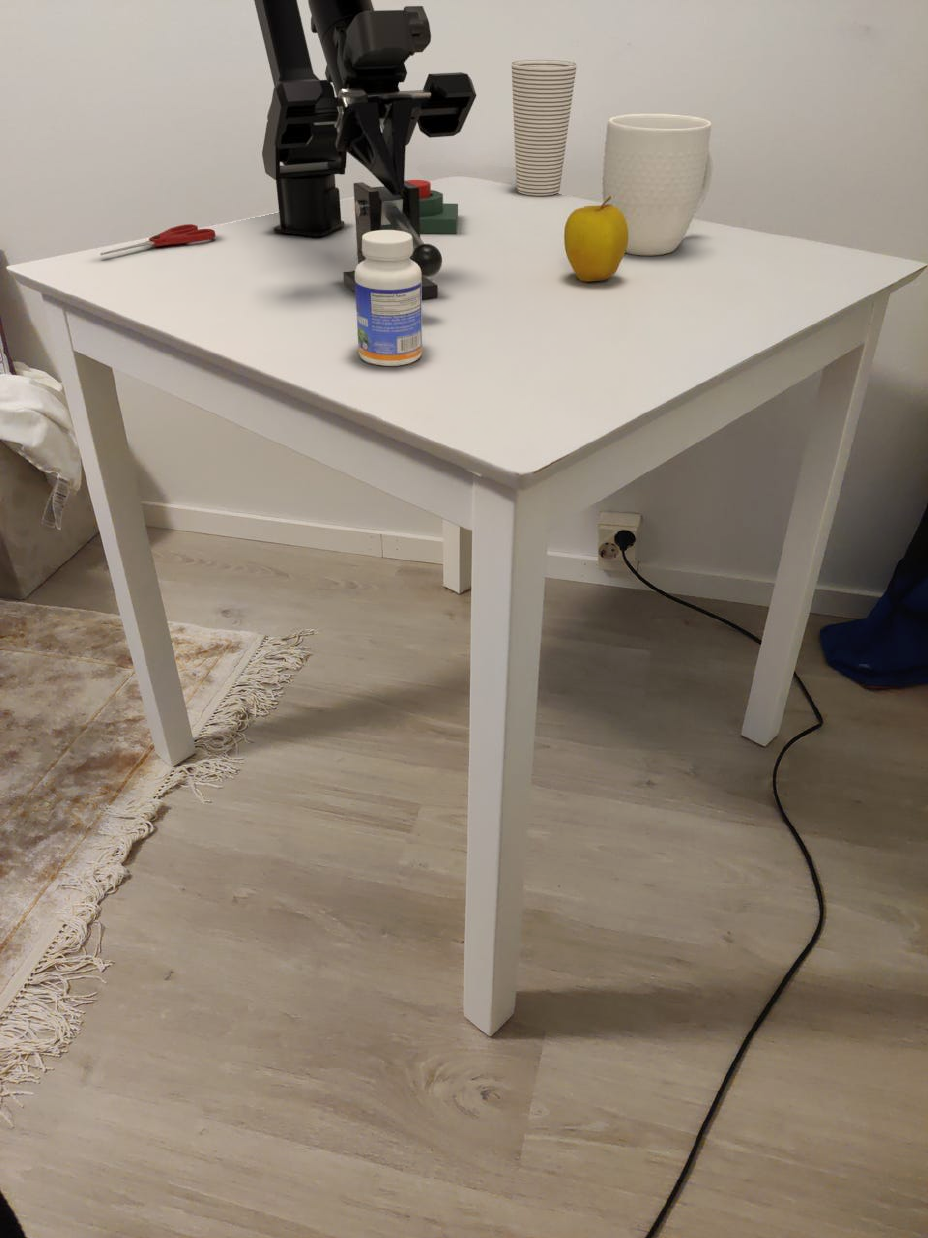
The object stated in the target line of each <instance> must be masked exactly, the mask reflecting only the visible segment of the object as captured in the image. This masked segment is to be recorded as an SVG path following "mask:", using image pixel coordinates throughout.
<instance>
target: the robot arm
mask: <svg viewBox="0 0 928 1238" xmlns="http://www.w3.org/2000/svg"><path fill="white" fill-rule="evenodd" d="M253 2H254V5H255V10H256V14H257V20H258V23H259V26H260V31H261V37H262V39H263V40H262V41H263V44H264V49H265V52H266V57H267V62H268V65H269V70H270V74H271V78H272V83H273V91H272V97H271V102H270V106H269V109H268V112H267V115H266V119H267V122H266V125H265V132H264V133H265V134H264V137H263V145H262V151H261V157H262V163H263V167H264V173H265V174H266V175H267V176H269V177H270V178H271V179H272V180H274V181H275V185H276V187H275V188H276V194H277V195H276V196H277V205H278V206H277V207H278V215H279V224H278V225H276V226H274V227H273V232H274V233H280V234H289V235H299V236H308V237H317V238H321V237H324V236H326V235H328V234H331V233H333V232H334V231H337V230H338V229H341V228H342V227H344V226H345V225H346V224H345V220H342V211H341V196H340V189H339V187H337V186H336V175H340V176H343V175H346V168H347V158H348V157H347V156H348V154H349V155H350V156H351V157H353V158H354V159H355V160H356V161H357V162H359V164H361V165H362V166H363V167H365V169H367V170H368V172H370V173H371V174H372V175H373V177H375V178H376V179H377V180H378V181H379V183H381V185H383V186H385V187H386V188H387V189H388V190H389V191H390V192H391V193H392V195H402V193H403V190H404V180H405V178H406V177H405V176H406V175H405V174H406V173H405V171H406V151H407V150H406V147H407V145H409V144H410V142H411V139H412V137H413V134H414V132H415V129H416V127H417V126H418V129H419V132H421V133H422V134H423V135H425V136H427V137H428V138H430V139H431V138H444V137H445V138H446V137H454V136H456V135H458V134H459V133H461V131H462V129H463V128H464V125H465V122H466V120H467V118H468V115H469V113H470V112H471V109H472V107H473V104H474V102H475V100H476V98H477V92H476V90H475V87H474V83H473V80H472V78H471V77H470V76H469V74H468V73H465V72H462V71H460V72H457V71H456V72H439V73H438V72H437V73H428V75H427V77H426V80H425V83H424V86H423V88H422V89H416V90H400V87H399V85H400V83H405V82H406V77H407V75H408V70H407V67H406V65H405V63H406V62H407V60H408V59H409V58H410V57H413V56H414V55H415V53H423V52H424V51H425V50H426V49H427V48H428V46H429V45H430V44H431V41H432V32H431V26H430V21H429V18H428V15H427V13H426V11H425V8H424V5H407V6H406V5H405V6H404V7H403V9H392V10H391V9H389V10H387V9H385V10H384V9H383V10H380V9H379V10H375V8H374V5H373V4H374V3H373V1H372V0H307V2H308V7H309V11H310V14H311V17H310V30H311V32H312V33H313V34H317V37H318V40H319V44H320V47H321V50H322V52H323V56H324V59H325V63H326V66H325V70H324V76H325V78H326V79H320V78H319V77H318V76H317V75H316V74H315V73H314V68H313V65H312V61H311V56H310V51H309V48H308V47H309V46H308V42H307V39H306V33H305V30H304V25H303V21H302V17H301V12H300V8H299V5H298V1H297V0H253ZM281 163H282V165H281Z"/></svg>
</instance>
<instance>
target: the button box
mask: <svg viewBox="0 0 928 1238" xmlns="http://www.w3.org/2000/svg"><path fill="white" fill-rule="evenodd" d="M419 207H420V234H436V235H437V234H442V235H443V234H445V235H446V234H447V235H455V234H457V229H458V221H459V203H444V194H443V192H440V191H437V190H434V189H431V197H428V198H421V199H419ZM380 229H381V230H394V228H393V227H392V225H382V226H381V225H380Z"/></svg>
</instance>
